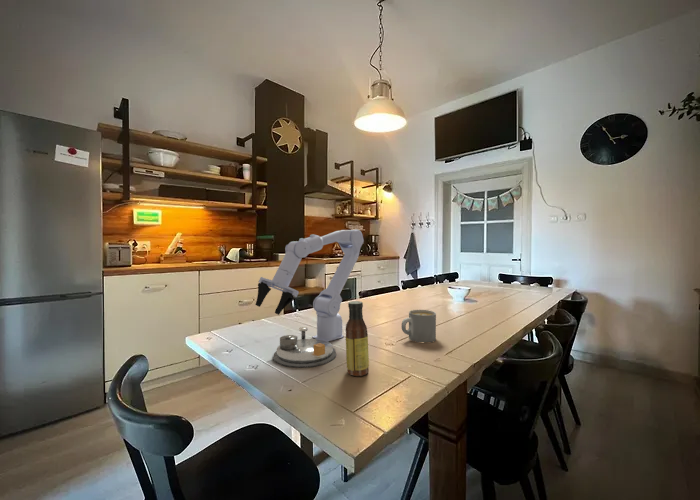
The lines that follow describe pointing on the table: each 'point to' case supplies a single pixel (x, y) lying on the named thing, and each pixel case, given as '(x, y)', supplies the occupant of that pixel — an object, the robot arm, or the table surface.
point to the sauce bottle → (356, 341)
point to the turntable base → (303, 365)
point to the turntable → (307, 351)
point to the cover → (288, 342)
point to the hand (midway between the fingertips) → (266, 309)
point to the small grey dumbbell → (303, 332)
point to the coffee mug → (420, 325)
